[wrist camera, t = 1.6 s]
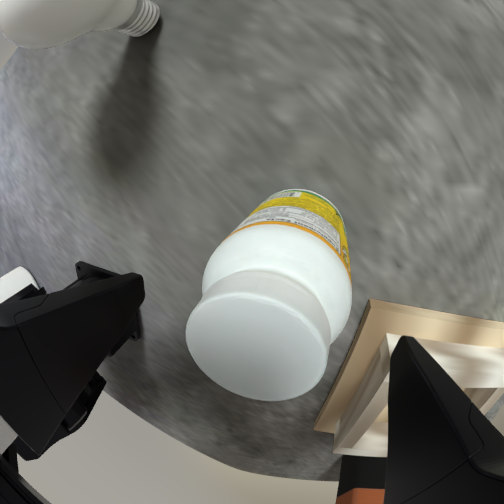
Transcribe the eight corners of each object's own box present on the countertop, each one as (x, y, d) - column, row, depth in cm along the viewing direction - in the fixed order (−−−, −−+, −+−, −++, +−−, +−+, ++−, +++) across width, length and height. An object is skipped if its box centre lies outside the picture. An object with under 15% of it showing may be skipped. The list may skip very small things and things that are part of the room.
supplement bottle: (277, 169, 14) (194, 221, 6) (364, 219, 14) (400, 334, 6) (237, 250, 17) (149, 359, 8) (315, 293, 17) (288, 431, 8)
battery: (359, 440, 22) (349, 526, 13) (411, 445, 21) (411, 524, 12) (340, 456, 24) (327, 532, 15) (390, 461, 22) (386, 532, 14)
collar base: (314, 421, 22) (308, 457, 18) (369, 298, 16) (375, 340, 12) (440, 431, 19) (444, 462, 15) (520, 325, 13) (540, 357, 9)
